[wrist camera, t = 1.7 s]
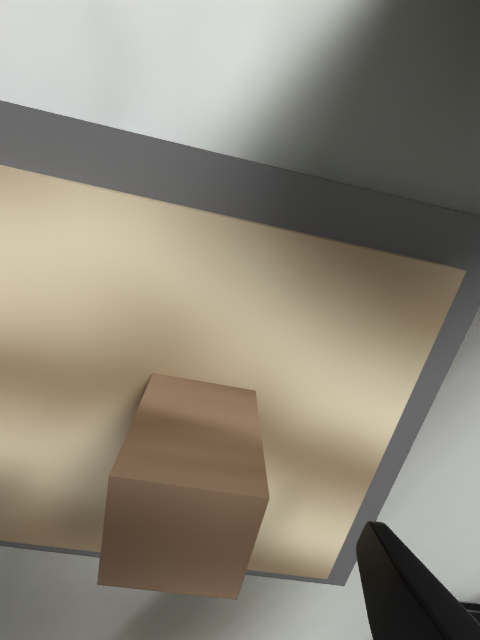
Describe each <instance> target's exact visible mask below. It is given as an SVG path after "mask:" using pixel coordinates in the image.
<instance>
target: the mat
mask: <svg viewBox="0 0 480 640" xmlns="http://www.w3.org/2000/svg"><path fill="white" fill-rule="evenodd" d="M0 165H3V166H7V167H12V168H16V169H21V170H25V171H30V172H34V173H39V174H43V175H48V176H52V177H57V178H61V179H65V180H70V181H74V182H79V183H83V184H88V185H92V186H97V187H101V188H106V189H110V190H115V191H119V192H123V193H128V194H132V195H137V196H141V197H146V198H150V199H155V200H159V201H164V202H168V203H173V204H177V205H181V206H186V207H190V208H195V209H199V210H204V211H208V212H213V213H217V214H222V215H226V216H231V217H235V218H239V219H244V220H248V221H253V222H257V223H262V224H266V225H271V226H275V227H280V228H284V229H289V230H293V231H297V232H302V233H306V234H311V235H315V236H320V237H324V238H329V239H333V240H338V241H342V242H347V243H351V244H355V245H360V246H364V247H369V248H373V249H378V250H382V251H387V252H391V253H396V254H400V255H405V256H409V257H413V258H418V259H422V260H427V261H431V262H436V263H440V264H445V265H449V266H452V267H455V268H458V269H461V270H464V271H466V273H465V275H464V278H463V280H462V282H461V284H460V287H459V289H458V291H457V293H456V295H455V298H454V300H453V302H452V304H451V306H450V309H449V311H448V313H447V315H446V318H445V320H444V322H443V324H442V326H441V329H440V331H439V333H438V335H437V337H436V340H435V342H434V344H433V346H432V349H431V351H430V353H429V355H428V357H427V360H426V362H425V364H424V366H423V368H422V371H421V373H420V375H419V377H418V380H417V382H416V384H415V386H414V388H413V391H412V393H411V395H410V397H409V399H408V402H407V404H406V406H405V408H404V410H403V413H402V415H401V417H400V419H399V422H398V424H397V426H396V428H395V430H394V433H393V435H392V437H391V439H390V441H389V444H388V446H387V448H386V450H385V453H384V455H383V457H382V459H381V461H380V464H379V466H378V468H377V470H376V472H375V475H374V477H373V479H372V481H371V484H370V486H369V488H368V490H367V492H366V495H365V497H364V499H363V501H362V503H361V506H360V508H359V510H358V512H357V514H356V517H355V519H354V521H353V523H352V526H351V528H350V530H349V532H348V534H347V537H346V539H345V541H344V543H343V545H342V548H341V550H340V552H339V554H338V557H337V559H336V561H335V563H334V565H333V568H332V570H331V572H330V574H329V576H328V579H321V578H313V577H304V576H296V575H287V574H279V573H270V572H262V571H253V570H246V573H245V575H254V576H262V577H271V578H280V579H288V580H297V581H305V582H314V583H322V584H331V585H339V586H345V583H346V581H347V579H348V577H349V575H350V573H351V571H352V569H353V567H354V565H355V563H356V561H357V555H356V544H357V541H358V538H359V536H360V534H361V532H362V530H363V528H364V526H365V524H366V522H368V521H376V519H377V517H378V515H379V513H380V511H381V509H382V507H383V505H384V503H385V501H386V498H387V496H388V494H389V492H390V490H391V488H392V486H393V484H394V482H395V480H396V478H397V476H398V474H399V471H400V469H401V467H402V465H403V463H404V461H405V459H406V457H407V455H408V453H409V451H410V449H411V447H412V445H413V442H414V440H415V438H416V436H417V434H418V432H419V430H420V428H421V426H422V424H423V422H424V420H425V418H426V416H427V413H428V411H429V409H430V407H431V405H432V403H433V401H434V399H435V397H436V395H437V393H438V391H439V389H440V386H441V384H442V382H443V380H444V378H445V376H446V374H447V372H448V370H449V368H450V366H451V364H452V362H453V360H454V357H455V355H456V353H457V351H458V349H459V347H460V345H461V343H462V341H463V339H464V337H465V335H466V333H467V331H468V328H469V326H470V324H471V322H472V320H473V318H474V316H475V314H476V312H477V310H478V308H479V306H480V217H479V216H475V215H471V214H467V213H463V212H459V211H455V210H450V209H446V208H442V207H438V206H434V205H430V204H426V203H422V202H417V201H413V200H409V199H405V198H401V197H397V196H393V195H388V194H384V193H380V192H376V191H372V190H368V189H364V188H360V187H355V186H351V185H347V184H343V183H339V182H335V181H331V180H327V179H322V178H318V177H314V176H310V175H306V174H302V173H298V172H294V171H289V170H285V169H281V168H277V167H273V166H269V165H265V164H261V163H256V162H252V161H248V160H244V159H240V158H236V157H232V156H228V155H223V154H219V153H215V152H211V151H207V150H203V149H199V148H195V147H190V146H186V145H182V144H178V143H174V142H170V141H166V140H161V139H157V138H153V137H149V136H145V135H141V134H137V133H133V132H128V131H124V130H120V129H116V128H112V127H108V126H104V125H100V124H95V123H91V122H87V121H83V120H79V119H75V118H71V117H67V116H62V115H58V114H54V113H50V112H46V111H42V110H38V109H34V108H29V107H25V106H21V105H17V104H13V103H9V102H5V101H1V100H0ZM0 546H6V547H14V548H23V549H32V550H40V551H49V552H57V553H66V554H74V555H83V556H91V557H100V554H101V552H93V551H85V550H76V549H68V548H59V547H51V546H42V545H34V544H25V543H17V542H9V541H0Z"/></svg>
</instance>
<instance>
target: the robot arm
mask: <svg viewBox="0 0 480 640" xmlns="http://www.w3.org/2000/svg"><path fill="white" fill-rule="evenodd" d="M356 555H357V561H358V566H359V572H360V577H361V582H362V588H363V593H364V599H365V604H366V609H367V615H368V619H369V624H370V629H371V633H372V636H373V640H480V606H475V605H466V604H460V602H459V601H458V600H457V599H456V598H455V597H454V596H453V595H452V594H451V593H450V592H449V591H448V590H447V589H446V588H445V587H444V586H443V584H442V583H441V582H440V581H439V580H438V579H437V578H436V577H435V576H434V575H433V574H432V573H431V572H430V571H429V570H428V569H427V568H426V566H425V565H424V564H423V563H422V562H421V561H420V560H419V559H418V558H417V557H416V556H415V555H414V554H413V553H412V552H411V551H410V549H409V548H408V547H407V546H406V545H405V544H404V543H403V542H402V541H401V540H400V539H399V538H398V537H397V536H396V535H395V534H394V533H393V531H392V530H391V529H390V528H389V527H388V526H387V525H386V524H384V523H382V522H376V521H368V522H366V524H365V526H364V528H363V530H362V532H361V534H360V536H359V538H358V541H357V544H356Z"/></svg>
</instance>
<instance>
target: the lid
mask: <svg viewBox="0 0 480 640" xmlns="http://www.w3.org/2000/svg"><path fill="white" fill-rule="evenodd" d="M465 273H466V271H464V270H461V269H458V268H455V267H452V266H449V265H445V264H440V263H436V262H431V261H427V260H422V259H418V258H413V257H409V256H405V255H400V254H396V253H391V252H387V251H382V250H378V249H373V248H369V247H364V246H360V245H355V244H351V243H347V242H342V241H338V240H333V239H329V238H324V237H320V236H315V235H311V234H306V233H302V232H297V231H293V230H289V229H284V228H280V227H275V226H271V225H266V224H262V223H257V222H253V221H248V220H244V219H239V218H235V217H231V216H226V215H222V214H217V213H213V212H208V211H204V210H199V209H195V208H190V207H186V206H181V205H177V204H173V203H168V202H164V201H159V200H155V199H150V198H146V197H141V196H137V195H132V194H128V193H123V192H119V191H115V190H110V189H106V188H101V187H97V186H92V185H88V184H83V183H79V182H74V181H70V180H65V179H61V178H57V177H52V176H48V175H43V174H39V173H34V172H30V171H25V170H21V169H16V168H12V167H7V166H3V165H0V541H9V542H17V543H25V544H34V545H42V546H51V547H59V548H68V549H76V550H85V551H93V552H101V554H100V563H99V572H98V582H97V585H106V586H115V587H124V588H133V589H143V590H152V591H161V592H170V593H179V594H188V595H198V596H207V597H216V598H225V599H234V600H237V597H238V594H239V591H240V588H241V585H242V582H243V579H244V576H245V573H246V570H253V571H262V572H270V573H279V574H287V575H296V576H304V577H313V578H321V579H328V576H329V574H330V572H331V570H332V568H333V565H334V563H335V561H336V559H337V557H338V554H339V552H340V550H341V548H342V545H343V543H344V541H345V539H346V537H347V534H348V532H349V530H350V528H351V526H352V523H353V521H354V519H355V517H356V514H357V512H358V510H359V508H360V506H361V503H362V501H363V499H364V497H365V495H366V492H367V490H368V488H369V486H370V484H371V481H372V479H373V477H374V475H375V472H376V470H377V468H378V466H379V464H380V461H381V459H382V457H383V455H384V453H385V450H386V448H387V446H388V444H389V441H390V439H391V437H392V435H393V433H394V430H395V428H396V426H397V424H398V422H399V419H400V417H401V415H402V413H403V410H404V408H405V406H406V404H407V402H408V399H409V397H410V395H411V393H412V391H413V388H414V386H415V384H416V382H417V380H418V377H419V375H420V373H421V371H422V368H423V366H424V364H425V362H426V360H427V357H428V355H429V353H430V351H431V349H432V346H433V344H434V342H435V340H436V337H437V335H438V333H439V331H440V329H441V326H442V324H443V322H444V320H445V318H446V315H447V313H448V311H449V309H450V306H451V304H452V302H453V300H454V298H455V295H456V293H457V291H458V289H459V287H460V284H461V282H462V280H463V278H464V275H465Z"/></svg>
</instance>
